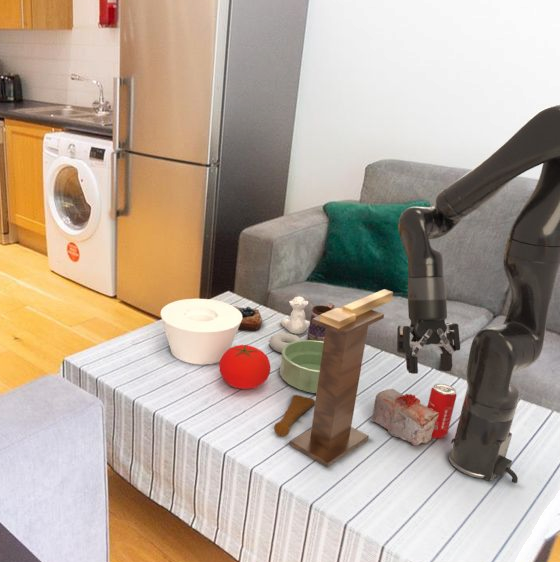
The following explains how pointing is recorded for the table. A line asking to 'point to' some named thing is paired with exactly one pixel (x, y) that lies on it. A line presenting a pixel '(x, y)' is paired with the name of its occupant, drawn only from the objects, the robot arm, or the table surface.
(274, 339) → the donut
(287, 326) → the white creature statuette
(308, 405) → the primitive tool
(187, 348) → the white tapered cylinder
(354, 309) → the wooden paddle
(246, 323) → the pastry
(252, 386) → the tomato
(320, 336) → the mug
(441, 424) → the beverage can
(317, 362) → the mixing bowl
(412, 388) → the table surface
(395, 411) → the food item
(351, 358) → the stand
